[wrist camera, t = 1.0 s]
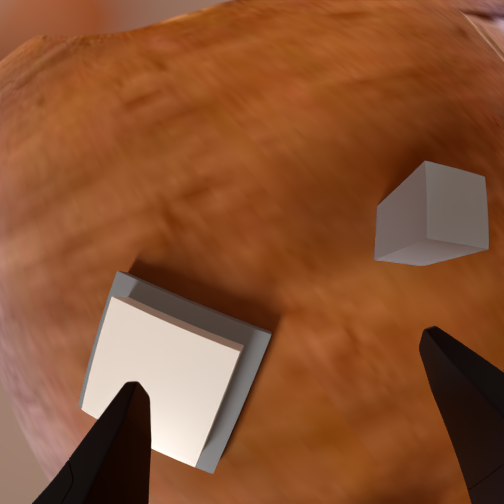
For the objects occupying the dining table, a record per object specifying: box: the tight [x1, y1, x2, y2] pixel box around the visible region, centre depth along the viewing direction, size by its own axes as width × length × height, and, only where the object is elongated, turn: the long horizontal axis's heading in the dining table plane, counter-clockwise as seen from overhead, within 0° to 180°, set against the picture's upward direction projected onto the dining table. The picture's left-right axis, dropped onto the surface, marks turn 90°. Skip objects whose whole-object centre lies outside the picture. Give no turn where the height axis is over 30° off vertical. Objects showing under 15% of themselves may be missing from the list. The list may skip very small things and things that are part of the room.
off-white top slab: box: [82, 296, 244, 467], centre depth 20 cm, size 9×9×2 cm
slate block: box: [374, 161, 489, 266], centre depth 19 cm, size 4×4×9 cm
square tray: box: [78, 271, 272, 474], centre depth 22 cm, size 12×12×2 cm
